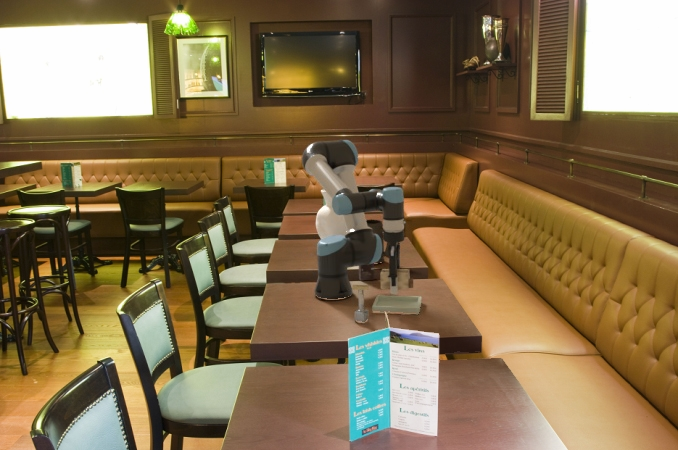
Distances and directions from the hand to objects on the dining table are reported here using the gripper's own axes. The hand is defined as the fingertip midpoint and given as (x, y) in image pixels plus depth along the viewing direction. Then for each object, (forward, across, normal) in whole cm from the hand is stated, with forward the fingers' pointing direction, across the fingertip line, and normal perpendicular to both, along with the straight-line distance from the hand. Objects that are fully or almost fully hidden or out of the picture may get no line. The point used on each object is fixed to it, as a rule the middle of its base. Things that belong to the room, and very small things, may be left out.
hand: (395, 290), depth 236 cm
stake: (+7, -15, +10) cm, 19 cm away
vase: (+6, +93, +41) cm, 102 cm away
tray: (+7, 0, -1) cm, 7 cm away
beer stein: (+6, +62, +15) cm, 64 cm away
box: (+7, +35, +16) cm, 39 cm away
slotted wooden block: (-2, 0, 0) cm, 2 cm away
